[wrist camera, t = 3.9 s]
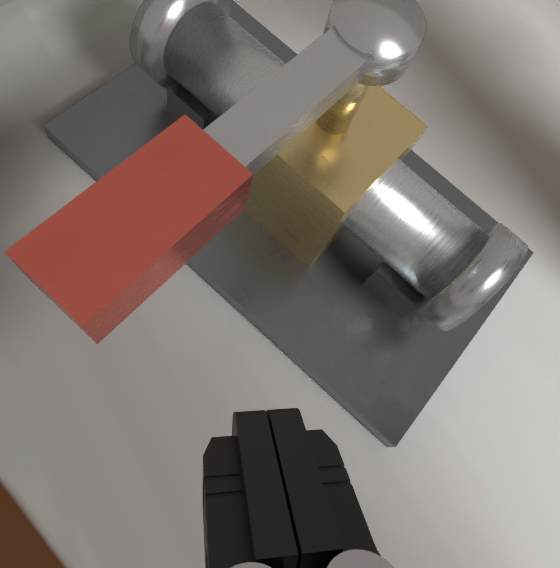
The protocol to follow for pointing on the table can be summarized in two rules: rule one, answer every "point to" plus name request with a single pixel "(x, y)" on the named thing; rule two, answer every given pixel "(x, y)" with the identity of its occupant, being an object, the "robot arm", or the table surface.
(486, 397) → the table surface
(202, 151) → the valve lever
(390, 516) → the table surface
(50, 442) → the table surface
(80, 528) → the table surface
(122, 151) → the valve body
